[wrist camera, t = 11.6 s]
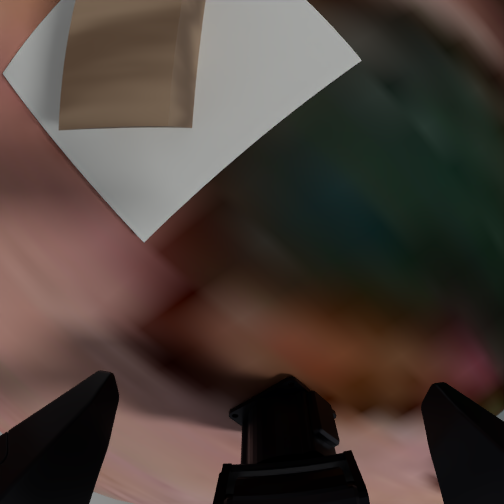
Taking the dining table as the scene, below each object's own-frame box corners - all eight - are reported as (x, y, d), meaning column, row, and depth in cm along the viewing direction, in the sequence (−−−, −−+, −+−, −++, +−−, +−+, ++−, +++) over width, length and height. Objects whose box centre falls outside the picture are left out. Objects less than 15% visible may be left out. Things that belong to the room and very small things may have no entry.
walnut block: (168, 126, 11) (198, -79, 8) (58, 130, 11) (93, -62, 8) (192, 128, 16) (210, -33, 12) (106, 128, 16) (127, -26, 12)
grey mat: (147, 238, 19) (144, 242, 18) (9, 74, 15) (2, 73, 14) (357, 63, 15) (361, 60, 14) (182, -88, 11) (179, -94, 10)
